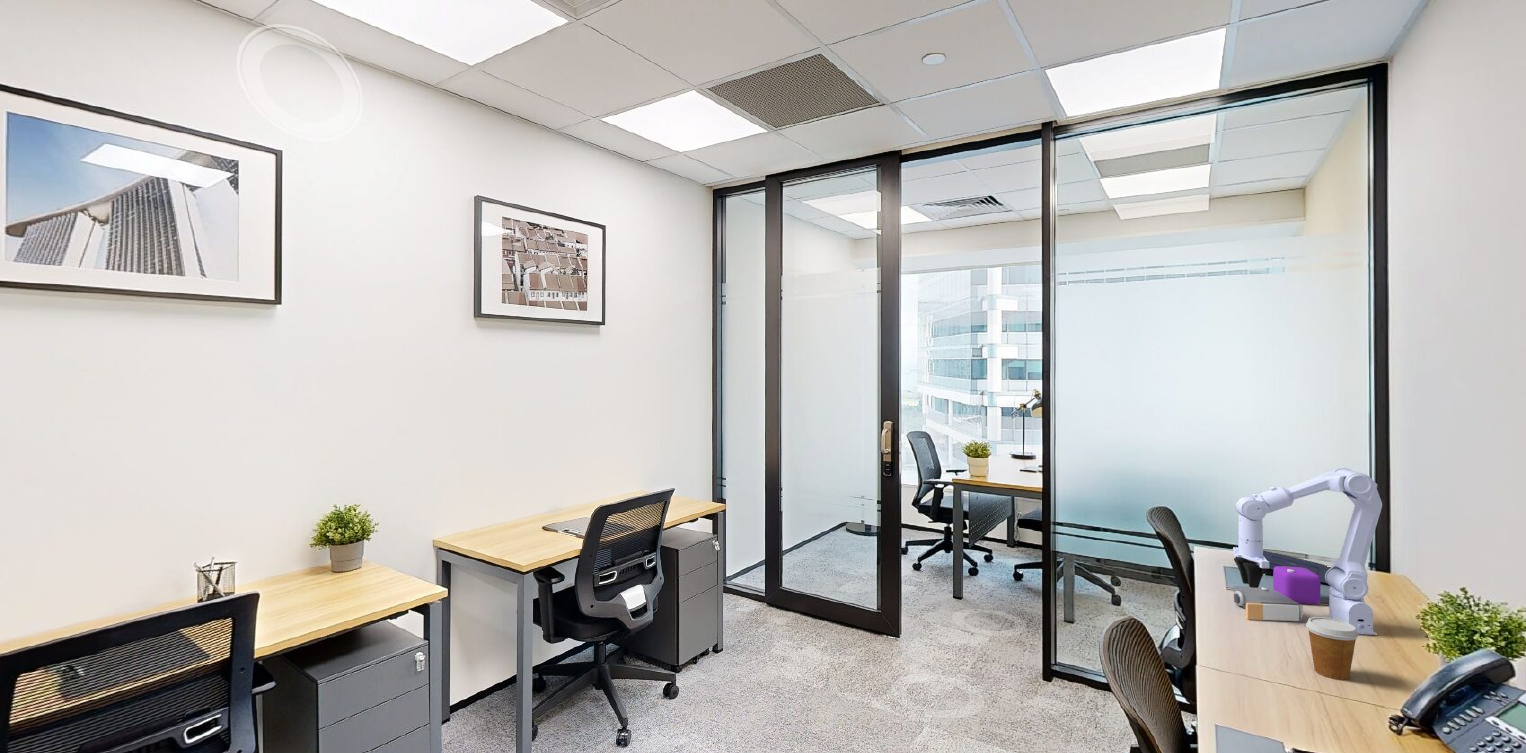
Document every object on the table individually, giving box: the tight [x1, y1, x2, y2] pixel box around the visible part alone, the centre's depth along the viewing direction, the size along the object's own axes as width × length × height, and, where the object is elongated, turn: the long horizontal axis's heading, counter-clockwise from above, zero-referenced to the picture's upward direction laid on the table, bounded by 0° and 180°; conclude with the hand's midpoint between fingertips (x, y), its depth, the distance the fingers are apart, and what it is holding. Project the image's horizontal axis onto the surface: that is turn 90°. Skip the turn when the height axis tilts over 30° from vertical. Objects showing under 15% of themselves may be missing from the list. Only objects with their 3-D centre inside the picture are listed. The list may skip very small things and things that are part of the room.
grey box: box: [1233, 585, 1304, 622], centre depth 193 cm, size 15×12×6 cm
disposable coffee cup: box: [1305, 616, 1360, 681], centre depth 155 cm, size 10×10×12 cm
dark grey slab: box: [1234, 550, 1332, 584], centre depth 231 cm, size 24×30×4 cm
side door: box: [1245, 603, 1300, 622], centre depth 187 cm, size 13×1×4 cm, turn 81°
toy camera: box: [1272, 566, 1321, 605], centre depth 204 cm, size 11×14×10 cm
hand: (1250, 585), depth 189 cm, fingers open, 3 cm apart
